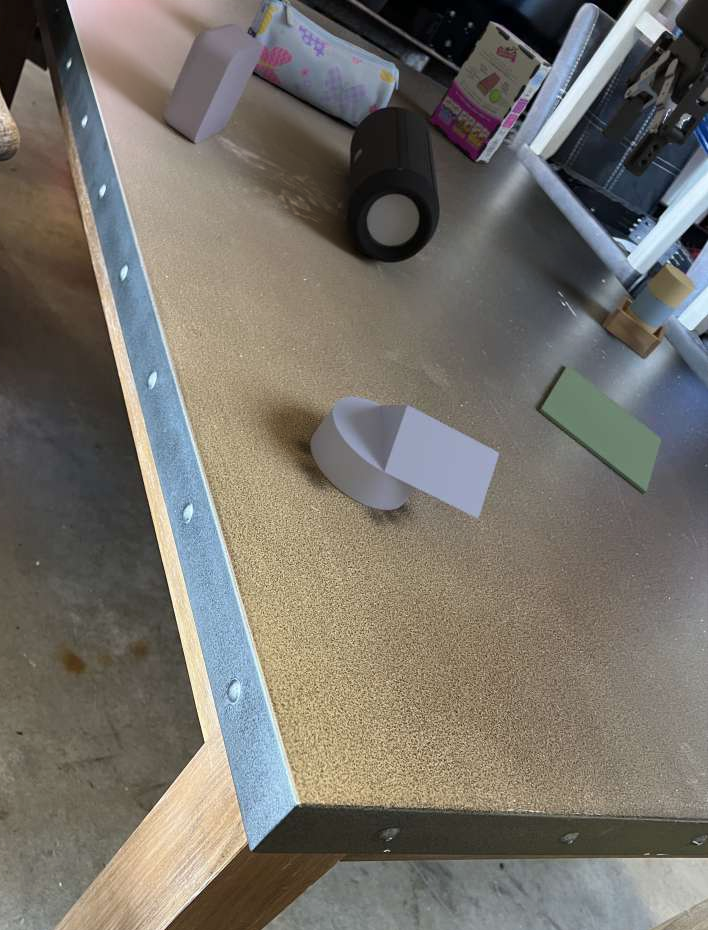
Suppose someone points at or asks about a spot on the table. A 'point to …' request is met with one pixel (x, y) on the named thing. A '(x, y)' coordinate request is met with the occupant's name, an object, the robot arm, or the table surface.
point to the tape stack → (660, 298)
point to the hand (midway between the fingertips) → (619, 154)
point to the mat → (603, 427)
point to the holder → (632, 330)
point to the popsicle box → (489, 92)
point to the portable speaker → (392, 186)
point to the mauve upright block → (212, 81)
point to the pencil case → (320, 64)
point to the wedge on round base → (400, 456)
